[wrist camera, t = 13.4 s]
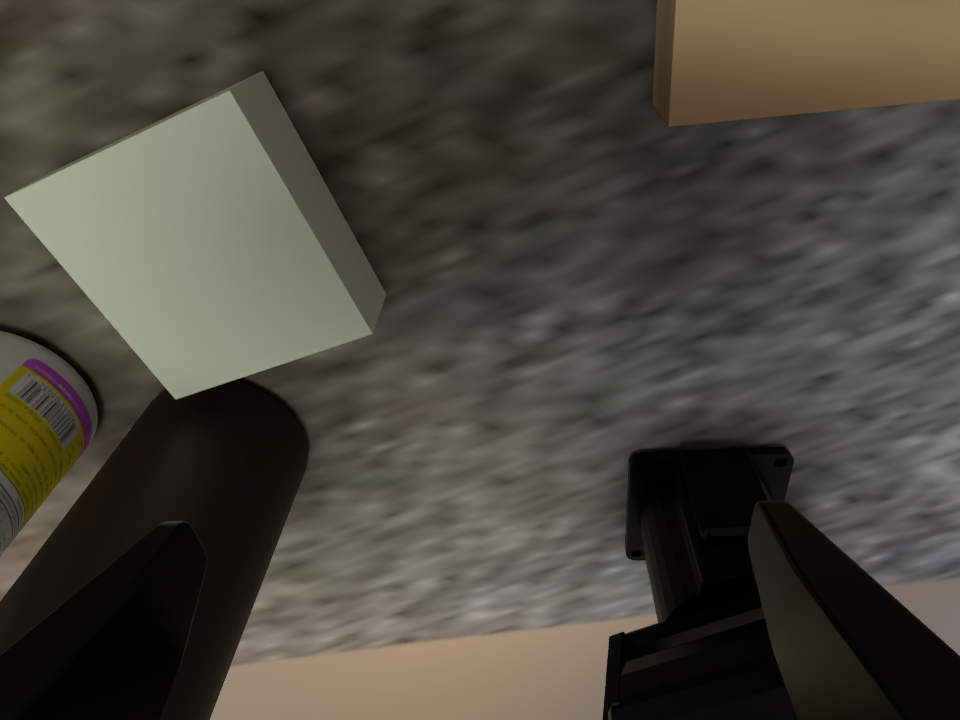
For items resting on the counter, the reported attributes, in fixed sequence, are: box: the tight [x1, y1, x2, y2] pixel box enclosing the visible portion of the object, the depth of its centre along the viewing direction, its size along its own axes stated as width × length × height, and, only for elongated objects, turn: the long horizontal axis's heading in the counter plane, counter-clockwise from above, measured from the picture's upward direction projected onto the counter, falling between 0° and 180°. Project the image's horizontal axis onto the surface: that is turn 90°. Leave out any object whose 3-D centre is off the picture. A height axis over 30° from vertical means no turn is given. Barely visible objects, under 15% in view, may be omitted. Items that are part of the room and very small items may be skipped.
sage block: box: [4, 71, 387, 400], centre depth 21 cm, size 8×8×3 cm
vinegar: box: [0, 381, 308, 720], centre depth 19 cm, size 7×7×20 cm
